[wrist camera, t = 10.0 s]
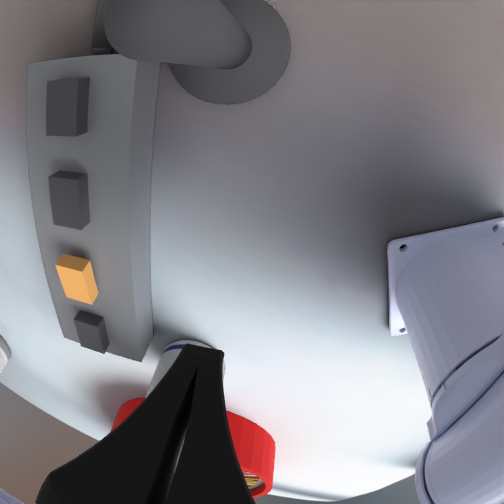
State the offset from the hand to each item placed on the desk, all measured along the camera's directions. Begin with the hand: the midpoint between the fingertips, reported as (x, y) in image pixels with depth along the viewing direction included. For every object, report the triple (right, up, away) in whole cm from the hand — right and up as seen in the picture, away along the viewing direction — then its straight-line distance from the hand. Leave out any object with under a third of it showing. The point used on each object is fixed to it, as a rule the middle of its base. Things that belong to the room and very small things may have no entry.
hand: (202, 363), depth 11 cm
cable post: (+1, +14, +3) cm, 14 cm away
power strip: (-7, +9, +6) cm, 13 cm away
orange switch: (-9, +3, +7) cm, 11 cm away
